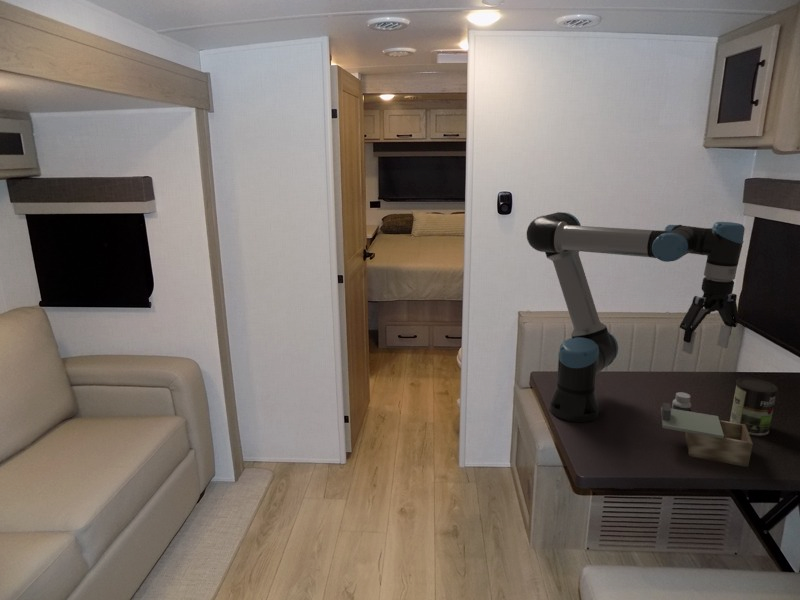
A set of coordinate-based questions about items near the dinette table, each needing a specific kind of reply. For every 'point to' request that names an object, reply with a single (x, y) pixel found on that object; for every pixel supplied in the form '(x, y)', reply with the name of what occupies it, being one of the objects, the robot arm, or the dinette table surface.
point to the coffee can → (754, 405)
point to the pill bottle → (682, 402)
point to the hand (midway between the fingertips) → (704, 349)
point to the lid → (691, 422)
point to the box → (722, 445)
